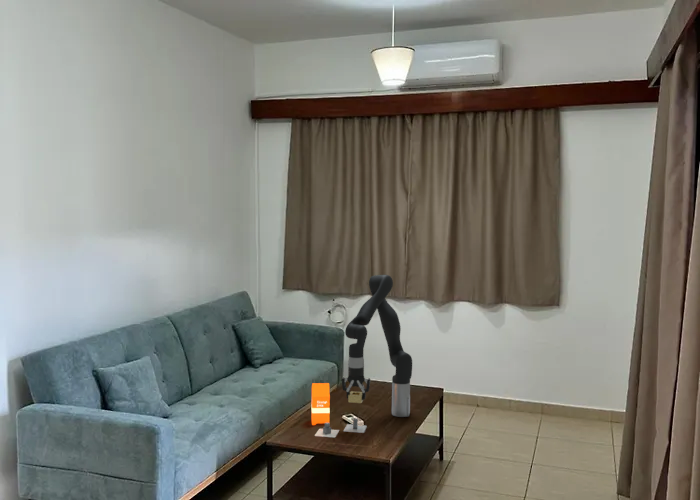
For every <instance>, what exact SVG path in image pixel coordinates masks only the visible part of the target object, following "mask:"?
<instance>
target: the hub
mask: <svg viewBox="0 0 700 500" xmlns="http://www.w3.org/2000/svg"><path fill="white" fill-rule="evenodd" d="M322 427H323V428H319V429H318V430H317V431H316V433H315V434H314V436H315V437H323V438H336V437H337V436H338V433H339V431H340V429H332V427H331V425H330V422H329V423H328V422H326V423H324V426H322Z"/></svg>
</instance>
